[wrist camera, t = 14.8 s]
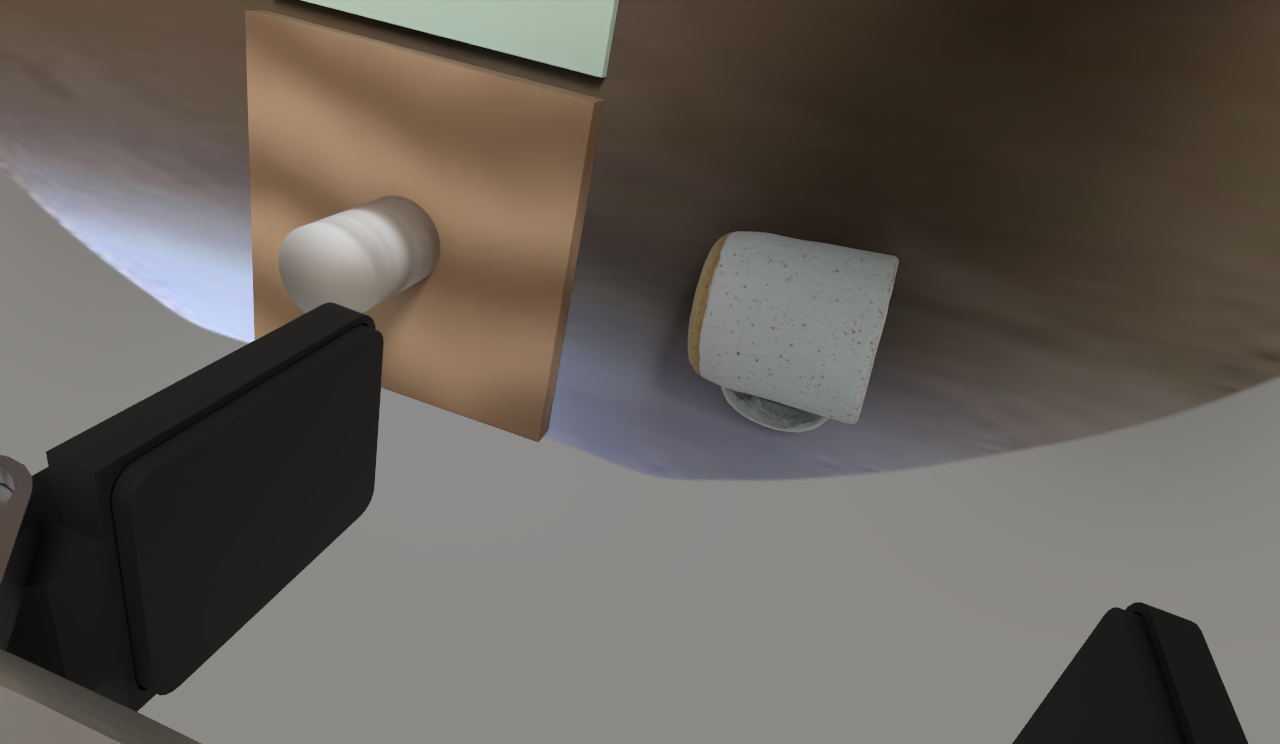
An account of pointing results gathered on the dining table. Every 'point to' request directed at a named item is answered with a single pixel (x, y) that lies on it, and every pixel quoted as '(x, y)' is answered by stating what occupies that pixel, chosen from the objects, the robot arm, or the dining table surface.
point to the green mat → (508, 26)
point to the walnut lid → (419, 210)
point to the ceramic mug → (789, 327)
